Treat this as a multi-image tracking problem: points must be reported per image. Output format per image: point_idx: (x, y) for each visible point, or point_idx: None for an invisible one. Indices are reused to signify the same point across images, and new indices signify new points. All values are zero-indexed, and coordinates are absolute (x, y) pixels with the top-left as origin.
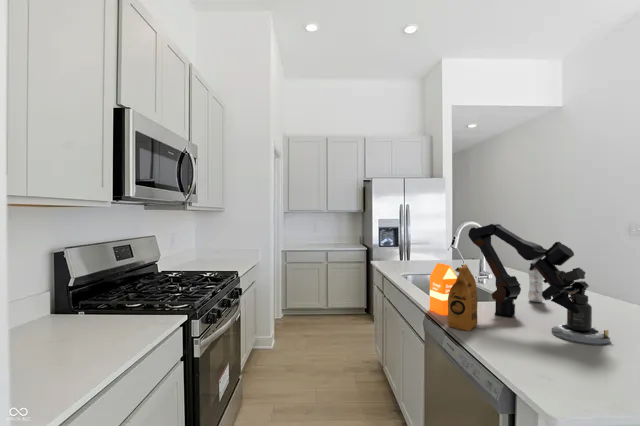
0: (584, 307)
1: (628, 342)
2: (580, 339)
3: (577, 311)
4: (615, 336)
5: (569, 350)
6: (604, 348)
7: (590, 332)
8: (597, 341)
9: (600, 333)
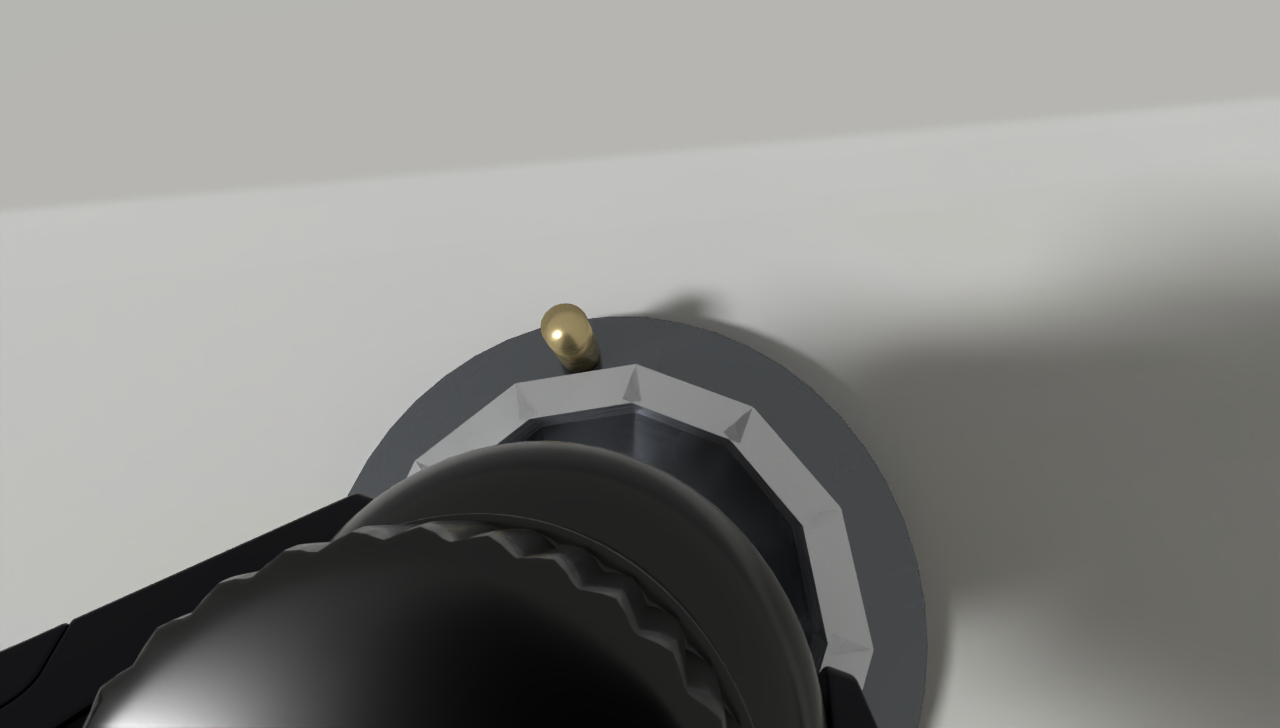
0: (759, 569)
1: (481, 208)
2: (877, 553)
3: (860, 697)
4: (344, 315)
5: (1264, 595)
6: (866, 338)
7: None
8: (799, 398)
9: (632, 382)
